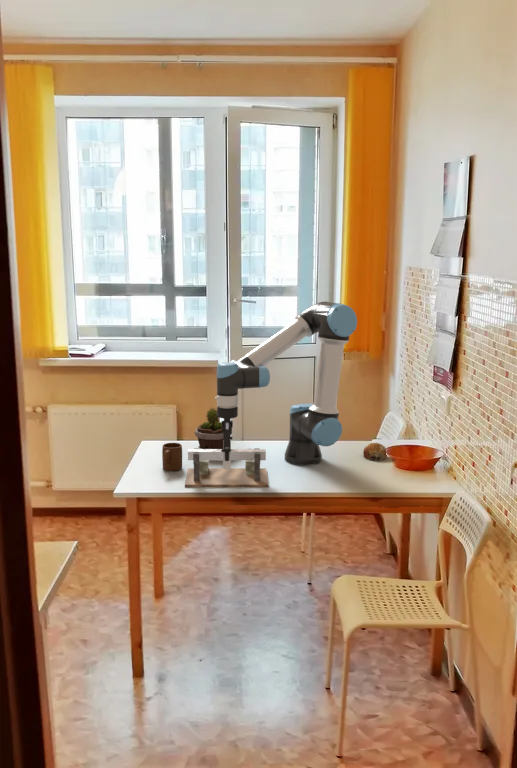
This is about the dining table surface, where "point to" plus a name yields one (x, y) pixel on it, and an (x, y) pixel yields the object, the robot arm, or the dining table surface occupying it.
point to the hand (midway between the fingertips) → (226, 463)
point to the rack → (226, 474)
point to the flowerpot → (210, 432)
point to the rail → (235, 454)
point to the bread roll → (375, 451)
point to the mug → (172, 456)
